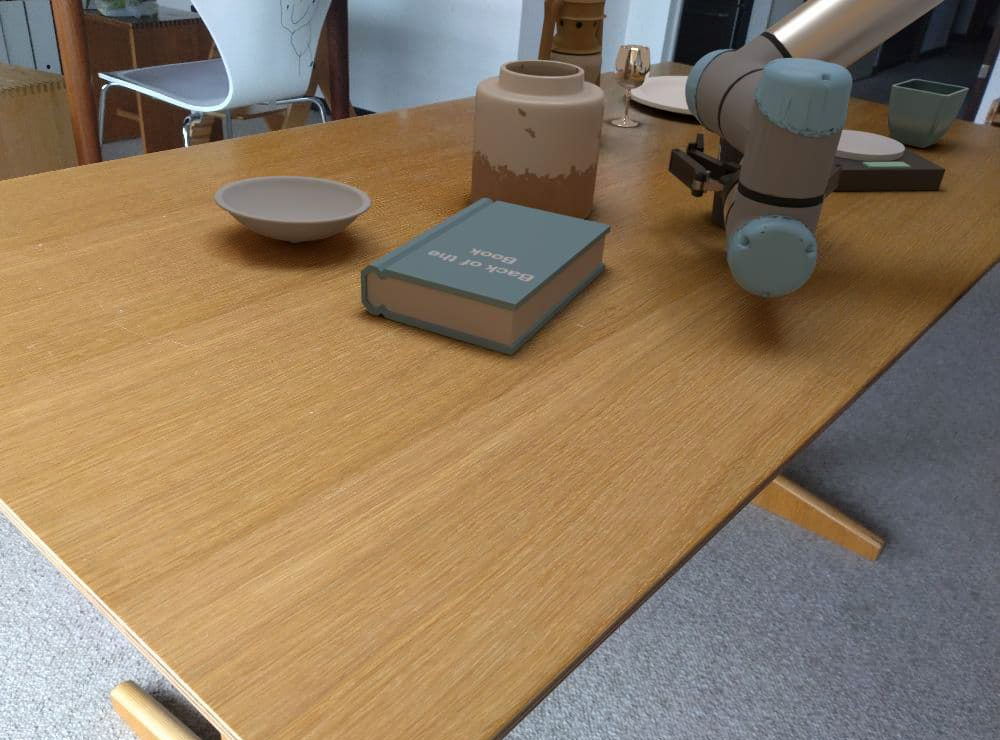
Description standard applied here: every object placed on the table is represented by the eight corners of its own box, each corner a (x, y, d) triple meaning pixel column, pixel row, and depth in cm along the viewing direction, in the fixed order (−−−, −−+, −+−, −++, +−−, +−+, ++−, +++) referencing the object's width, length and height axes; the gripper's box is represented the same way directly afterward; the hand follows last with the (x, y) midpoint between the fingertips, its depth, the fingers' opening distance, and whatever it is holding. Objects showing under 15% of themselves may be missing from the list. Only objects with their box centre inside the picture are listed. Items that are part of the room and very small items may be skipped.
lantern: (552, 126, 144) (571, -83, 128) (612, 136, 140) (640, -78, 124) (512, 147, 133) (528, -79, 116) (576, 159, 128) (601, -73, 112)
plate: (808, 109, 160) (811, 96, 159) (733, 136, 143) (736, 121, 141) (676, 81, 176) (678, 69, 175) (593, 102, 159) (595, 89, 157)
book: (511, 355, 78) (515, 304, 75) (361, 310, 84) (360, 262, 81) (604, 269, 95) (610, 225, 92) (474, 237, 101) (476, 195, 98)
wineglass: (614, 128, 144) (624, 51, 138) (602, 119, 149) (611, 44, 142) (647, 127, 145) (658, 50, 139) (634, 118, 150) (644, 44, 144)
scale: (938, 190, 122) (948, 161, 120) (831, 191, 120) (839, 162, 118) (871, 152, 137) (879, 126, 135) (775, 152, 135) (781, 126, 133)
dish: (190, 249, 95) (184, 204, 93) (261, 208, 107) (258, 167, 104) (335, 278, 90) (333, 232, 88) (393, 232, 102) (393, 189, 99)
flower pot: (874, 141, 143) (891, 84, 138) (898, 133, 148) (914, 77, 143) (928, 154, 137) (947, 95, 133) (951, 145, 143) (970, 88, 138)
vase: (450, 214, 107) (454, 71, 98) (499, 180, 119) (507, 49, 110) (567, 238, 102) (584, 89, 93) (607, 200, 114) (624, 64, 105)
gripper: (638, 229, 94) (646, 169, 111) (874, 255, 90) (844, 189, 107) (648, 159, 90) (655, 109, 107) (897, 183, 85) (861, 127, 103)
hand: (749, 149), depth 108 cm, fingers open, 12 cm apart
